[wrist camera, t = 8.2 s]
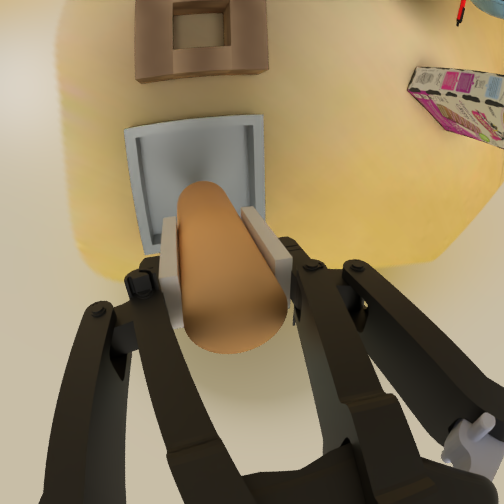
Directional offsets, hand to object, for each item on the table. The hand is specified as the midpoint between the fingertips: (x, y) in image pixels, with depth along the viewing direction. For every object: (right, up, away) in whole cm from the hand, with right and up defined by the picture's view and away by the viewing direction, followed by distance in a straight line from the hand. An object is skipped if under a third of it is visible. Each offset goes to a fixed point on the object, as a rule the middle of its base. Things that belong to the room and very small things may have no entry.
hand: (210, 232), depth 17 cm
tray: (-3, +7, +12) cm, 14 cm away
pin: (-1, +2, +4) cm, 5 cm away
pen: (+41, +45, +4) cm, 61 cm away
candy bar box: (+29, +21, +14) cm, 39 cm away
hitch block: (-3, +21, +5) cm, 22 cm away
